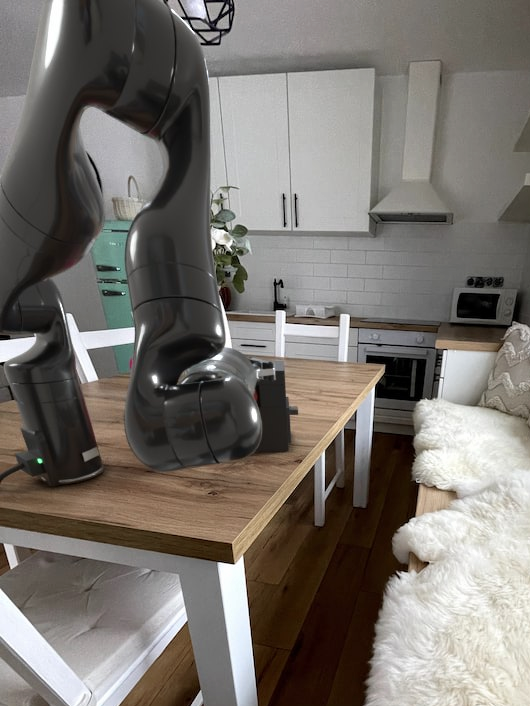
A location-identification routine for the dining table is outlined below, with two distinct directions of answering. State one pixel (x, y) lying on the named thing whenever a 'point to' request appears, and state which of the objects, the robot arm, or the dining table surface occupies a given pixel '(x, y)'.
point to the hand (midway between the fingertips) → (236, 360)
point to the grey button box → (274, 412)
